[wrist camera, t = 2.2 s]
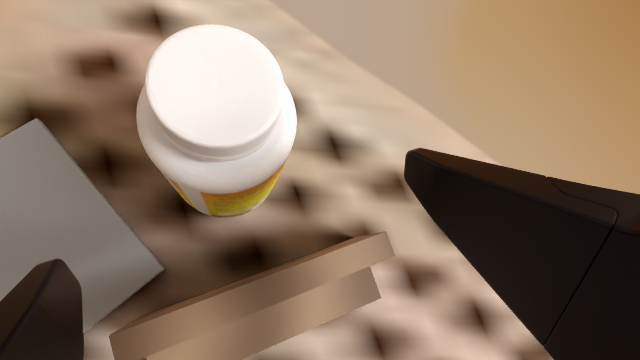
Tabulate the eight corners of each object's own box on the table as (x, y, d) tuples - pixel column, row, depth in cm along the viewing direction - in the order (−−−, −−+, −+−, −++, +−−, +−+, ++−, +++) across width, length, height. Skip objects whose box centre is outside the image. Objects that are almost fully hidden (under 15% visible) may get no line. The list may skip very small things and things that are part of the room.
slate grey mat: (165, 269, 18) (162, 269, 17) (-42, 433, 14) (-53, 440, 14) (43, 122, 18) (36, 117, 17) (-188, 251, 15) (-205, 251, 14)
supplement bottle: (291, 154, 21) (340, 60, 11) (245, 236, 19) (257, 211, 9) (207, 108, 20) (183, -33, 10) (153, 189, 18) (63, 109, 9)
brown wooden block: (354, 237, 20) (385, 231, 16) (375, 296, 20) (413, 306, 16) (140, 316, 17) (108, 335, 13) (159, 391, 16) (133, 436, 12)
